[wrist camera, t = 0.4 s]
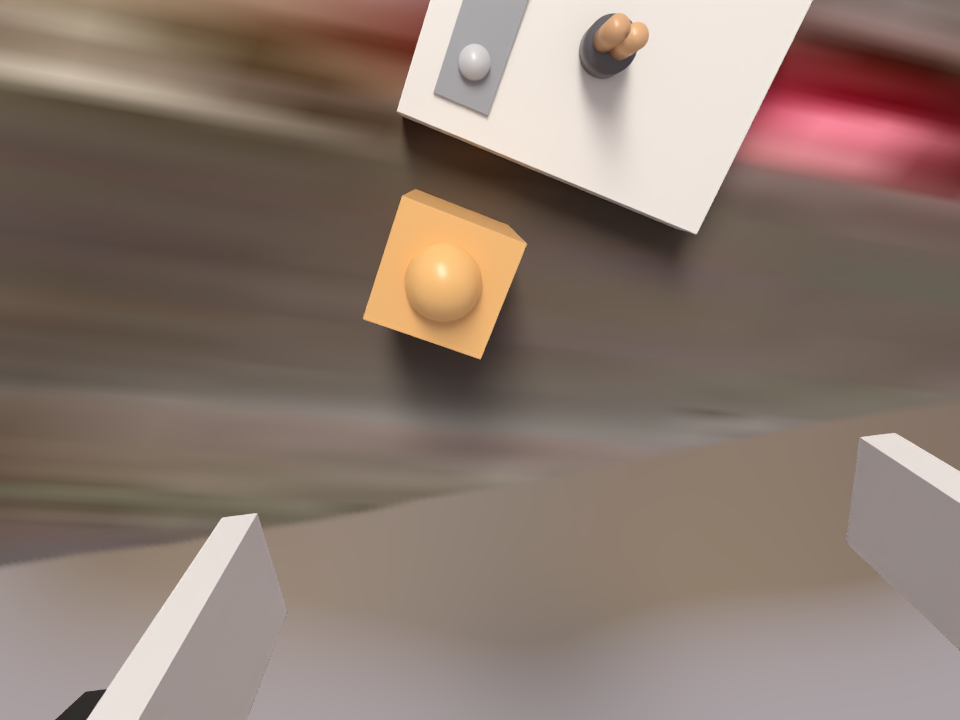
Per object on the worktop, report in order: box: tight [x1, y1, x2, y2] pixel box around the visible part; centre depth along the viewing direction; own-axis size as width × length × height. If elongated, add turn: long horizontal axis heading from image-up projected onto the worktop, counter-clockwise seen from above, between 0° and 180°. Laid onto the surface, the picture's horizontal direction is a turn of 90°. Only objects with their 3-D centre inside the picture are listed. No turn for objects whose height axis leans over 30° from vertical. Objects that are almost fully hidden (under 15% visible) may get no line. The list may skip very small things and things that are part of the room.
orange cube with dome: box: [363, 189, 527, 359], centre depth 29 cm, size 6×6×11 cm
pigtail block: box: [397, 0, 812, 234], centre depth 27 cm, size 18×13×7 cm
